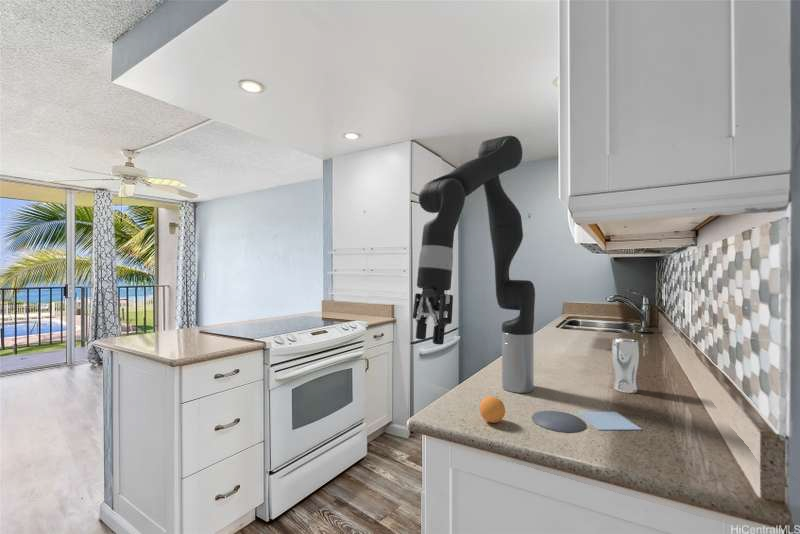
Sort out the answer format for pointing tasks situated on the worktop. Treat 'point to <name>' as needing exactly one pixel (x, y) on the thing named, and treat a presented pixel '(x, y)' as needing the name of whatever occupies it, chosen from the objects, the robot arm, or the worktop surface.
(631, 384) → the beer glass
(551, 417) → the disc
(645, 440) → the worktop surface
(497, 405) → the ball
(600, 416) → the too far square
